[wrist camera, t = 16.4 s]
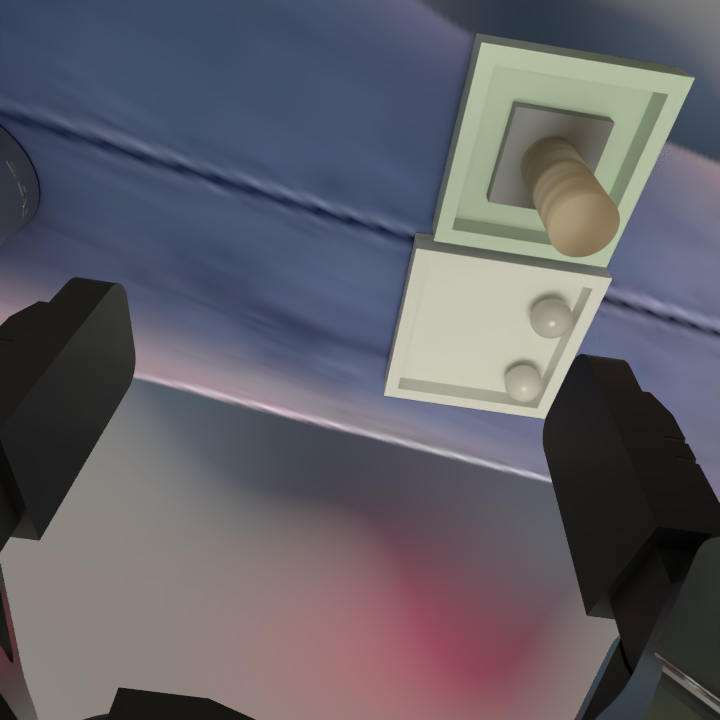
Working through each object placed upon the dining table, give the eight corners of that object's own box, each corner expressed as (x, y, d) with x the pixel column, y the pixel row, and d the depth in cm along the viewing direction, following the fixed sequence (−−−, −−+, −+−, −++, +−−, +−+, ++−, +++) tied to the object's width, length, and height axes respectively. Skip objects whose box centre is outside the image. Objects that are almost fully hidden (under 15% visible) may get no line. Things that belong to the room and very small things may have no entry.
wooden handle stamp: (486, 195, 38) (507, 270, 30) (513, 101, 34) (546, 158, 26) (572, 208, 38) (617, 286, 30) (609, 117, 34) (670, 178, 26)
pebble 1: (497, 382, 48) (502, 406, 46) (508, 355, 46) (513, 378, 44) (532, 387, 48) (538, 411, 46) (544, 360, 46) (551, 384, 44)
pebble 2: (521, 320, 44) (528, 343, 42) (534, 288, 42) (541, 310, 40) (559, 326, 44) (567, 349, 42) (573, 294, 42) (583, 316, 40)
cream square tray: (384, 376, 50) (383, 395, 48) (415, 232, 41) (416, 248, 39) (539, 399, 50) (544, 418, 48) (602, 261, 41) (612, 278, 40)
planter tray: (432, 221, 40) (434, 241, 38) (476, 33, 33) (481, 42, 31) (594, 247, 41) (606, 267, 38) (674, 66, 33) (694, 78, 31)
